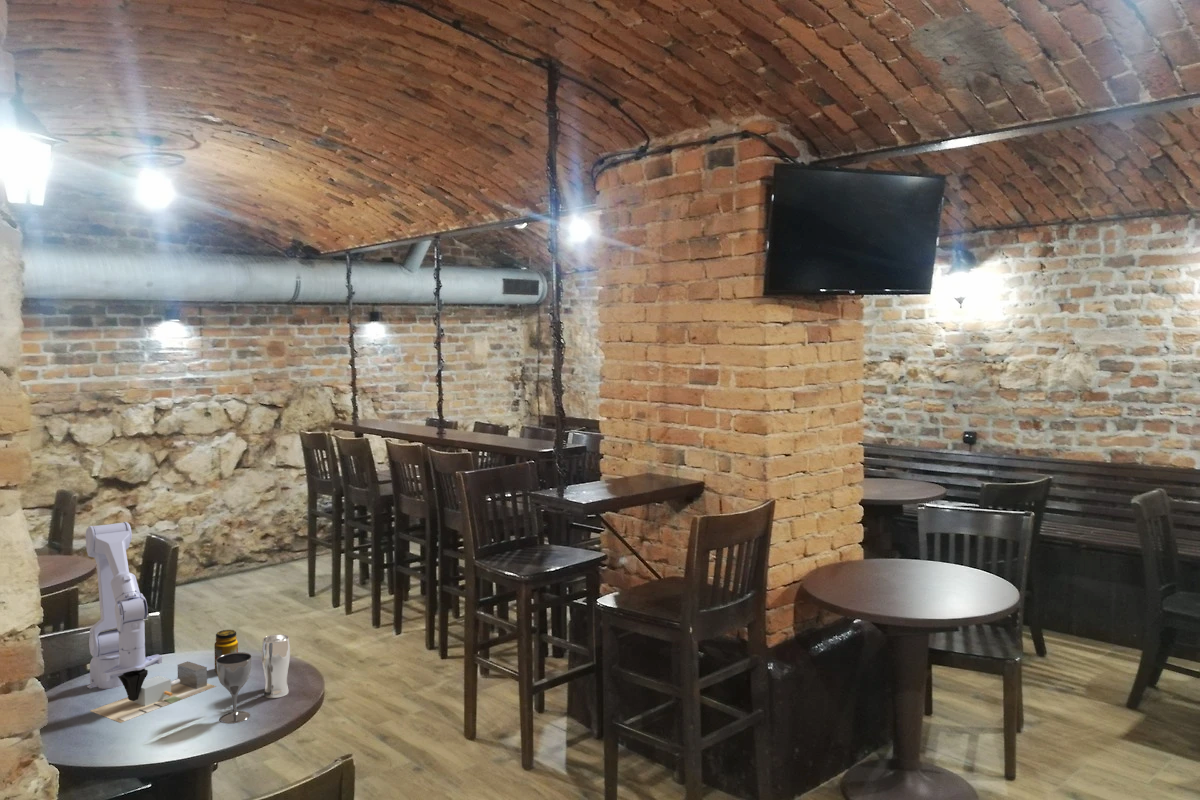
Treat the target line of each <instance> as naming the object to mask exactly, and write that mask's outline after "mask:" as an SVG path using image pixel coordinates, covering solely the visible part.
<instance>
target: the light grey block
mask: <svg viewBox="0 0 1200 800" xmlns="http://www.w3.org/2000/svg"><path fill="white" fill-rule="evenodd" d="M179 683H180V679H178V678H176V679H175V680H171V679H170V678H167V677H164V676H161V675H157V676H154V677H150V678H148V679H144V681H143V684H142V686H141V689H140V693H139V697H138V700H135V701H133V702H135V703H138V704H140V705H143V706H147V705H150V704H152V703H155V702H158V701H160V700H163V699H166V698H168V697H171V696H172V693H171V686H174V685H176V684H179Z"/></svg>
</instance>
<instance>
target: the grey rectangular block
mask: <svg viewBox="0 0 1200 800" xmlns="http://www.w3.org/2000/svg"><path fill="white" fill-rule="evenodd" d="M207 671H208V668H207V666H204V665H200V664H197V663H194V662H191V661H183V662H182V663H179V664H177V679H180V683H179V684H182V685H185V686H188V687H191V688H194V689H198V688H202V687H205V686H207V683H208V672H207Z"/></svg>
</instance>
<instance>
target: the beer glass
mask: <svg viewBox="0 0 1200 800" xmlns="http://www.w3.org/2000/svg"><path fill="white" fill-rule="evenodd" d="M261 643H262V645H261V662H262V669H263V673H264V674H263V675H264V678H265V688H264V692H263V695H264V697H265V698H268V699H278V698H283V697H285V696H287V695H288V694H289V693H290V690H289V687H288V671H289V666H290V660H291V645H290V636H289V635H287V634H285V633H283V634H282V633H276V634H275V633H274V634H270V635H266V636H264V637H263V638H262V642H261Z"/></svg>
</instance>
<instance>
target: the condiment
mask: <svg viewBox="0 0 1200 800" xmlns="http://www.w3.org/2000/svg"><path fill="white" fill-rule="evenodd" d="M235 652H239V642H238V639H237V631H236V630H234V629H225V630H224V629H223V630H220V631H218V632H217V633H216V634H215V642H214V673H215V674H217V666H216V660H217V658H218V657H220V656H222V655H225V654H229V653H235Z"/></svg>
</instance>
